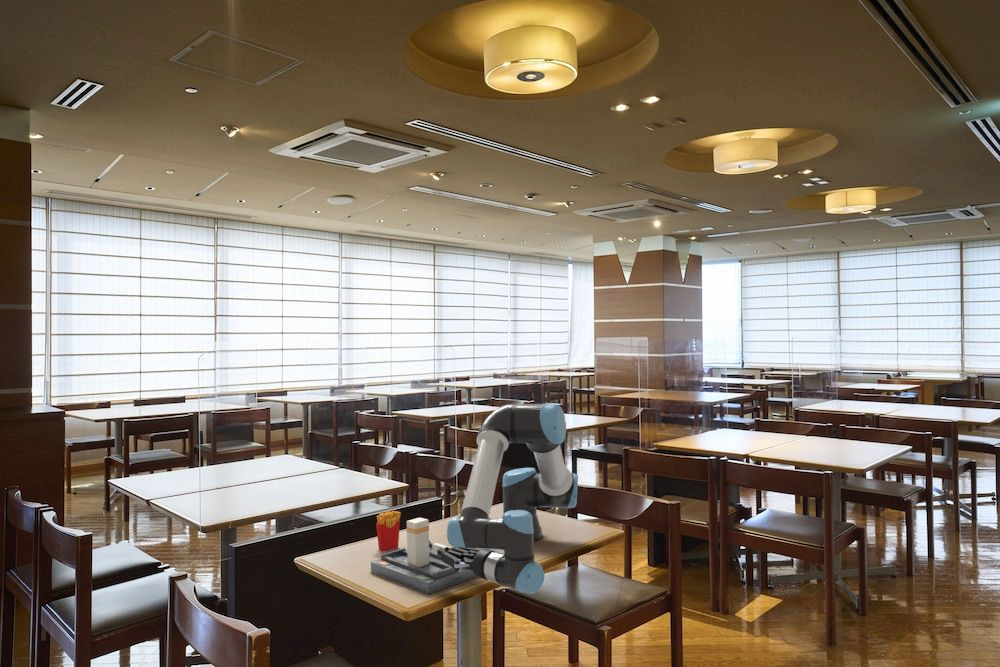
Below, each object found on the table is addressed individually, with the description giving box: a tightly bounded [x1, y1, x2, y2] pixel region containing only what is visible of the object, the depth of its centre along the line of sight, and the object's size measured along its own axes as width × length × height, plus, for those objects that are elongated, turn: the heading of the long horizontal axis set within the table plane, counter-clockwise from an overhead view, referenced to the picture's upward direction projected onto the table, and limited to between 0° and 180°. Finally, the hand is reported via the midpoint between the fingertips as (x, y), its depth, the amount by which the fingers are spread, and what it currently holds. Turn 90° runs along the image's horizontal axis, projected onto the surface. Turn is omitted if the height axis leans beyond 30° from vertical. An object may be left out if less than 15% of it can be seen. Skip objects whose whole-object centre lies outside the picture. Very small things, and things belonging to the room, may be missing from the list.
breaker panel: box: [370, 540, 477, 595], centre depth 197 cm, size 22×27×16 cm
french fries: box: [375, 510, 402, 552], centre depth 222 cm, size 8×4×12 cm, turn 129°
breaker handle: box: [406, 517, 430, 567], centre depth 195 cm, size 5×4×13 cm
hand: (434, 548), depth 190 cm, fingers closed
